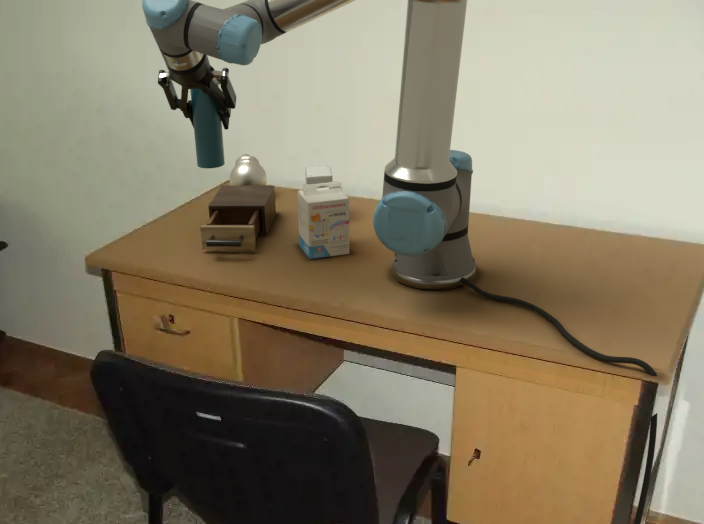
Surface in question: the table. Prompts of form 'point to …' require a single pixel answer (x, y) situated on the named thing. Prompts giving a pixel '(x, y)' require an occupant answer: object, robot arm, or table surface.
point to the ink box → (323, 220)
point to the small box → (318, 175)
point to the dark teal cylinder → (207, 130)
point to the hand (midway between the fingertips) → (211, 123)
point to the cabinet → (247, 202)
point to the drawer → (232, 229)
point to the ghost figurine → (248, 172)
